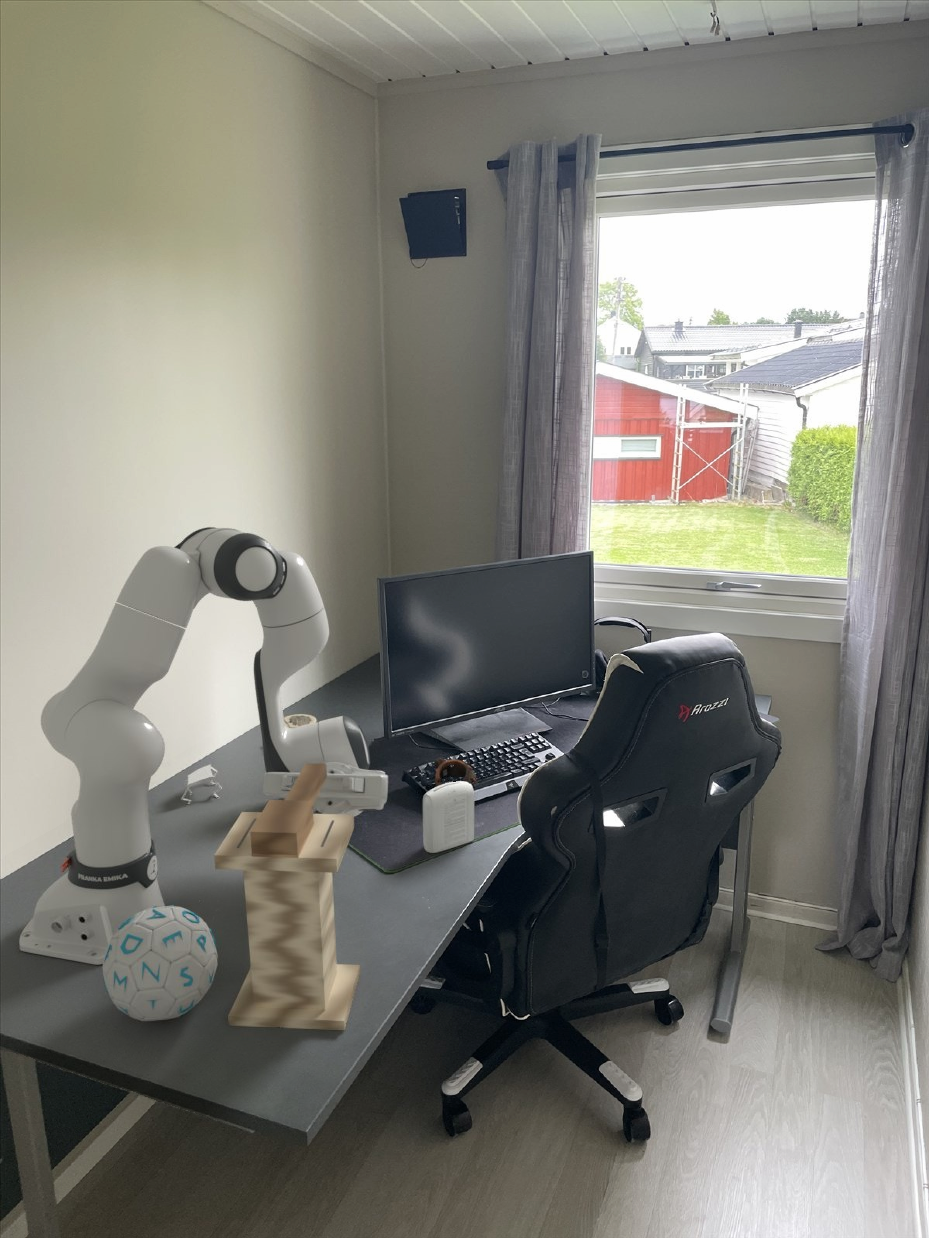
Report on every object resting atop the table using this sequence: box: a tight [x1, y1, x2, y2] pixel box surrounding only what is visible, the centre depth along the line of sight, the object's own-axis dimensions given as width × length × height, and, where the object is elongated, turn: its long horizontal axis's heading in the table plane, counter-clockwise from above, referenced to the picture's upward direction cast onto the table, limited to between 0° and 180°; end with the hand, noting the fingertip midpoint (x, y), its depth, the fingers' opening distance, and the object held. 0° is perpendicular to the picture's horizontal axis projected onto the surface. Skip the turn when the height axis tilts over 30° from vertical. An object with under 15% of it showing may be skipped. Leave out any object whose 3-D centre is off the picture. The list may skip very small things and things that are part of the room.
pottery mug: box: [433, 757, 477, 788], centre depth 193 cm, size 12×10×8 cm
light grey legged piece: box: [180, 764, 223, 805], centre depth 192 cm, size 12×8×5 cm
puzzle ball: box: [102, 904, 219, 1022], centre depth 125 cm, size 15×15×15 cm
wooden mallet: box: [250, 763, 327, 858], centre depth 127 cm, size 6×24×4 cm, turn 176°
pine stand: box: [213, 811, 361, 1031], centre depth 126 cm, size 16×12×26 cm
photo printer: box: [422, 781, 475, 854], centre depth 170 cm, size 10×4×12 cm, turn 123°
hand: (317, 781), depth 140 cm, fingers open, 8 cm apart
